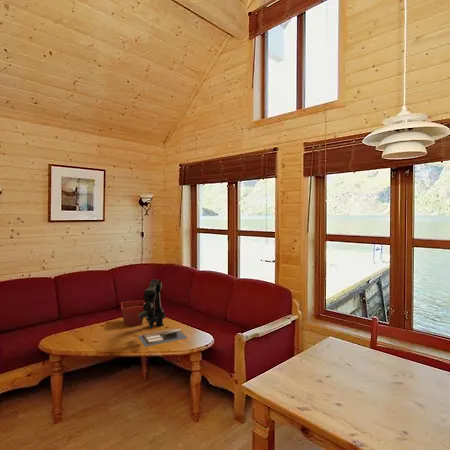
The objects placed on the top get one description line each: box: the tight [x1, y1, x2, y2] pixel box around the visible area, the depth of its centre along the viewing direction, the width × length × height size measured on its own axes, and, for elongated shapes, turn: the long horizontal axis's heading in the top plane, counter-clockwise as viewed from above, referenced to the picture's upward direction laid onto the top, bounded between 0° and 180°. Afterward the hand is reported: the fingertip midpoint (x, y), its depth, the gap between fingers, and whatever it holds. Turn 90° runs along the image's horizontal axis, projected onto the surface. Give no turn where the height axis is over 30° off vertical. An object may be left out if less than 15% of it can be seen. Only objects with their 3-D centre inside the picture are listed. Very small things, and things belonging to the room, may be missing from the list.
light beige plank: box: [146, 335, 163, 344], centre depth 238 cm, size 10×10×2 cm
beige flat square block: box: [164, 328, 182, 336], centre depth 245 cm, size 10×10×2 cm
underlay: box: [137, 331, 188, 348], centre depth 244 cm, size 22×32×1 cm
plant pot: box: [120, 299, 145, 327], centre depth 274 cm, size 19×19×17 cm
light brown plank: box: [142, 327, 176, 339], centre depth 249 cm, size 6×25×2 cm, turn 117°
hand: (150, 328), depth 234 cm, fingers closed
